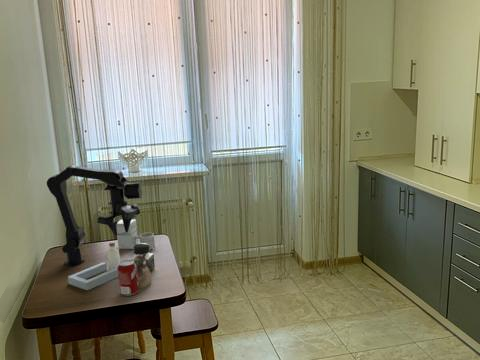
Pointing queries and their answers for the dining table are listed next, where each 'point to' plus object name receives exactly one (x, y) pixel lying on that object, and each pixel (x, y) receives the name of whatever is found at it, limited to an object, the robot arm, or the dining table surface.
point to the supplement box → (126, 235)
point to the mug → (146, 239)
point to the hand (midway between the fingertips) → (121, 234)
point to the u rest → (81, 277)
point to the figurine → (142, 271)
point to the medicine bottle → (142, 249)
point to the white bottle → (113, 257)
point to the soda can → (128, 277)
